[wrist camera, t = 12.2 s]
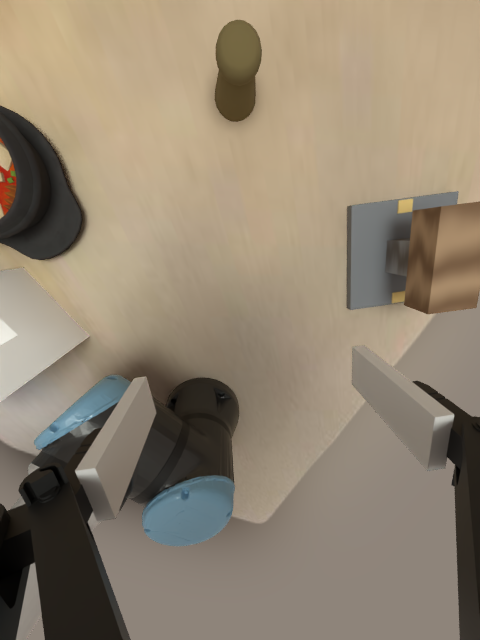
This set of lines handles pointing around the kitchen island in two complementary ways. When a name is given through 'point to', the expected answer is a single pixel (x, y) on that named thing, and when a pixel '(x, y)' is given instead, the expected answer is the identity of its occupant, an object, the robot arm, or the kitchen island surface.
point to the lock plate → (380, 247)
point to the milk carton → (31, 330)
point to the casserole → (33, 192)
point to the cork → (237, 69)
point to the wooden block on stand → (439, 258)
